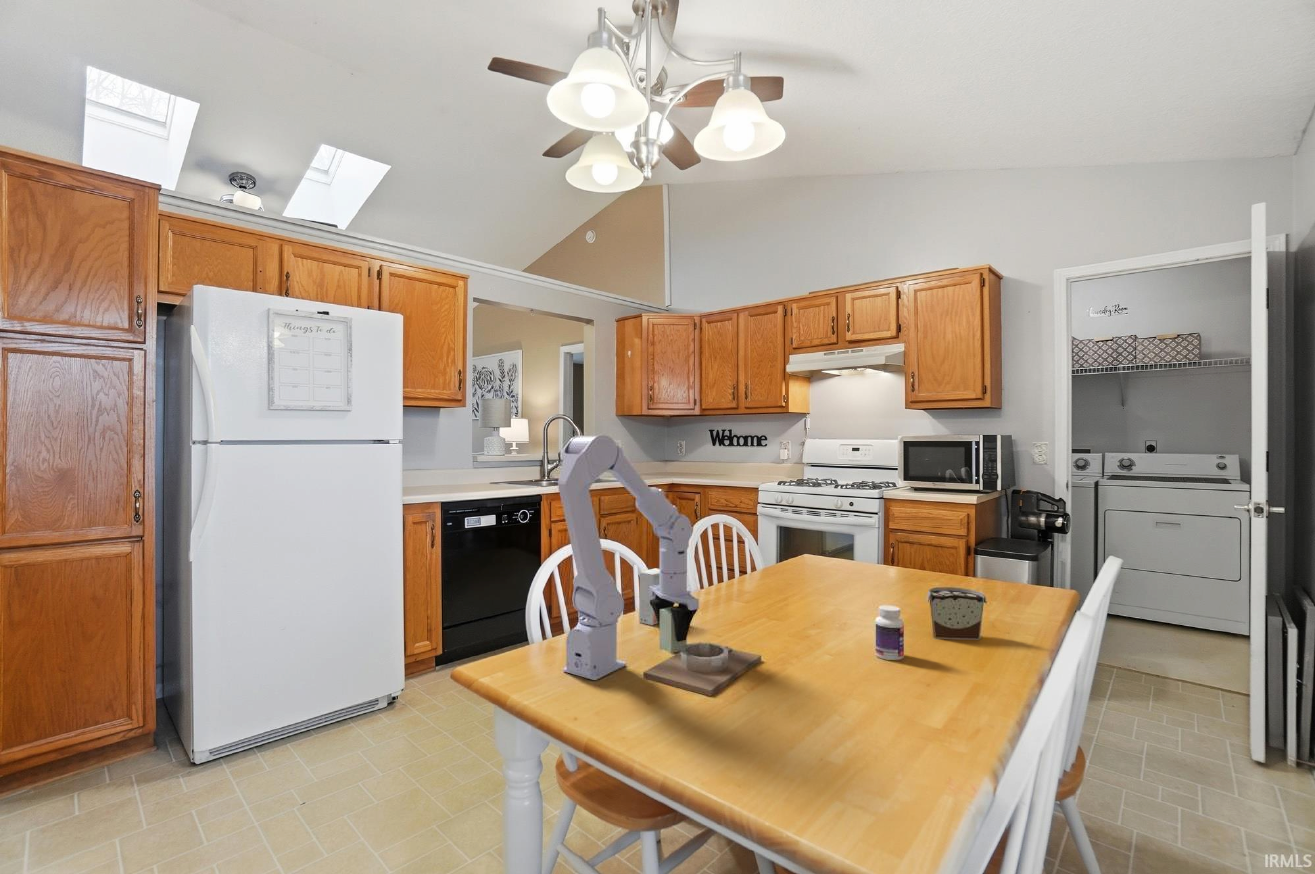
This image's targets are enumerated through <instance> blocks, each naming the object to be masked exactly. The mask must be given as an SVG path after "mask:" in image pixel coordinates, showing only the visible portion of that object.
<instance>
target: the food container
mask: <svg viewBox="0 0 1315 874" xmlns="http://www.w3.org/2000/svg"><path fill="white" fill-rule="evenodd" d="M926 602H928V603H929V606H930V608H929V609H930V617H931V625H932V626H931V627H932V635H933V636H932V637H933V638H934V639H939V640H940V639H941V640H969V641H972V640H973V641H980V639H981V630H982V623H983V622H982V621H983V613H984V604H987V598H986V596H985V593H983V592H981V591H977V590H974V589H970V588H962V587H955V586H953V587H952V586H939V587H931V588H930V589H929V590H928V592H927V594H926Z"/></svg>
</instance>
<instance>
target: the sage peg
mask: <svg viewBox="0 0 1315 874" xmlns="http://www.w3.org/2000/svg"><path fill="white" fill-rule="evenodd" d="M675 606H676V605H674V607H675ZM687 641H688V639H687V638H686V640H684V641H680V642H678V641H676V636H675V624H674V619H673V616H672V613H671V610H670V607H669V608H663V609H660V630H659V649H662V650H664V651H665V652H668V653H670V654H673V653H677V652H678V653H679V652H681V648H682V647H683V646H685V645H687V644H688V643H687Z"/></svg>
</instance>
